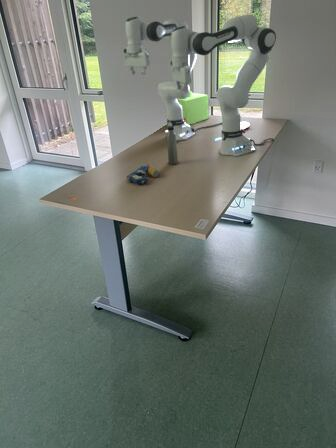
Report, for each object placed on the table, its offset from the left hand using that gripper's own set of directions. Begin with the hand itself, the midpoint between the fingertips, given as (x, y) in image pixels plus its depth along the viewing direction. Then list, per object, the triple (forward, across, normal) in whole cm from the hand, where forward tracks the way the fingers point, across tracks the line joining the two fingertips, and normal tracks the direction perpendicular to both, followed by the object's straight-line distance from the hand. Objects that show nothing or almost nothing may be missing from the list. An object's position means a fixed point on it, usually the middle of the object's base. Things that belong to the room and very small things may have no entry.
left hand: (138, 74), depth 205 cm
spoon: (+48, -32, -67) cm, 88 cm away
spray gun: (+48, -33, +34) cm, 68 cm away
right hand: (+6, -39, +5) cm, 40 cm away
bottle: (+48, -32, +9) cm, 58 cm away
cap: (+26, -32, +9) cm, 42 cm away
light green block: (+48, +24, -74) cm, 92 cm away
